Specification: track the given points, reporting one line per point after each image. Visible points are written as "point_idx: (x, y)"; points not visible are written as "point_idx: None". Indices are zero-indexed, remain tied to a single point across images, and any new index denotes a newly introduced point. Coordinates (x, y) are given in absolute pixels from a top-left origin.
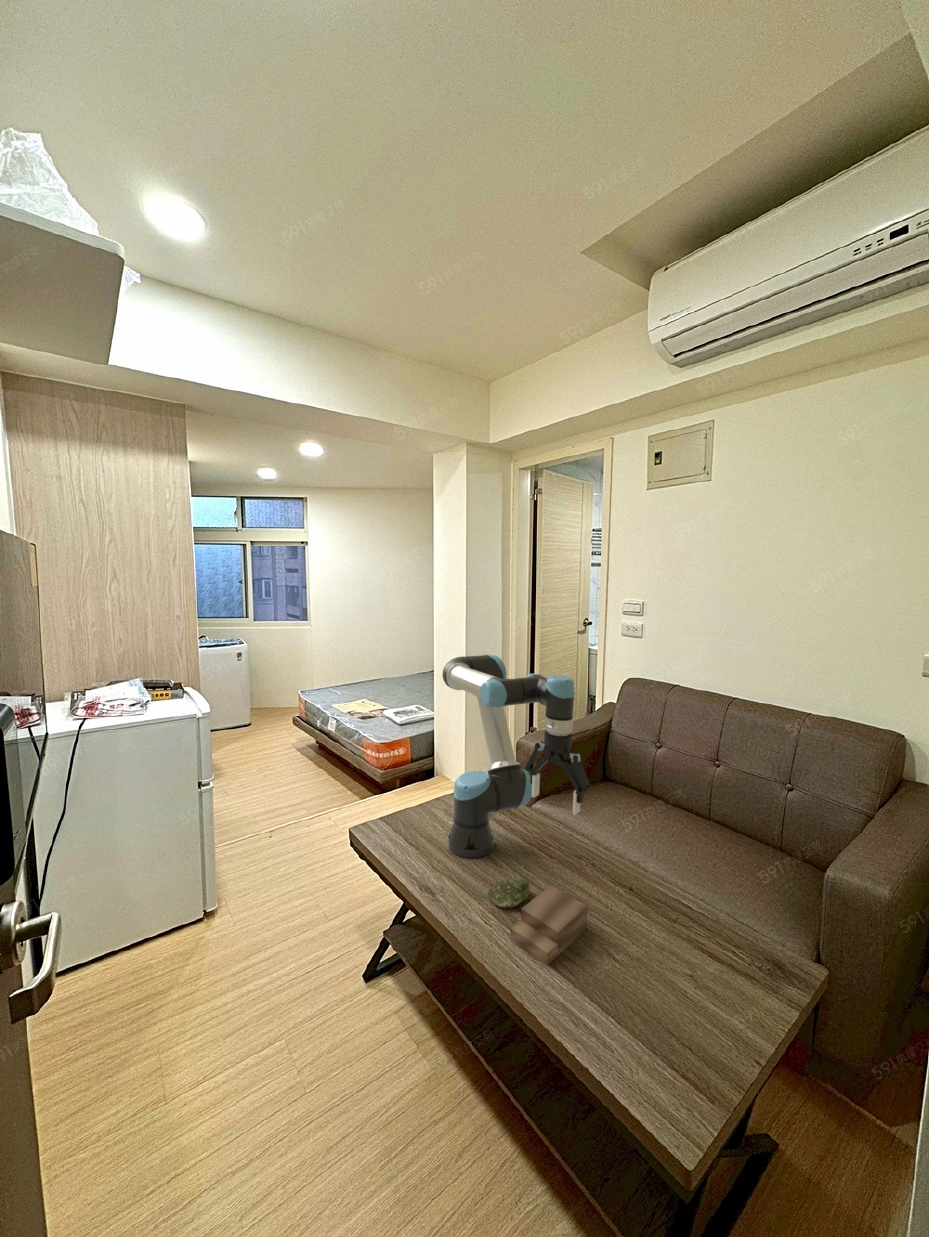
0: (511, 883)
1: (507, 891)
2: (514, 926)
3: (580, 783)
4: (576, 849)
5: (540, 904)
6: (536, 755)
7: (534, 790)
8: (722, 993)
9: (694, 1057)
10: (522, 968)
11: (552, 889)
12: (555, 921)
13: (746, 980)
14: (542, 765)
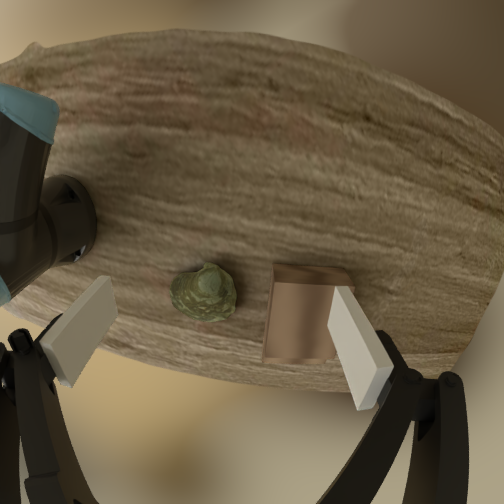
0: (201, 303)
1: (206, 311)
2: (265, 358)
3: (415, 449)
4: (213, 61)
5: (285, 334)
6: (13, 479)
7: (104, 331)
8: (480, 254)
9: (453, 334)
10: (299, 370)
11: (282, 291)
12: (323, 347)
13: (497, 219)
14: (68, 450)
